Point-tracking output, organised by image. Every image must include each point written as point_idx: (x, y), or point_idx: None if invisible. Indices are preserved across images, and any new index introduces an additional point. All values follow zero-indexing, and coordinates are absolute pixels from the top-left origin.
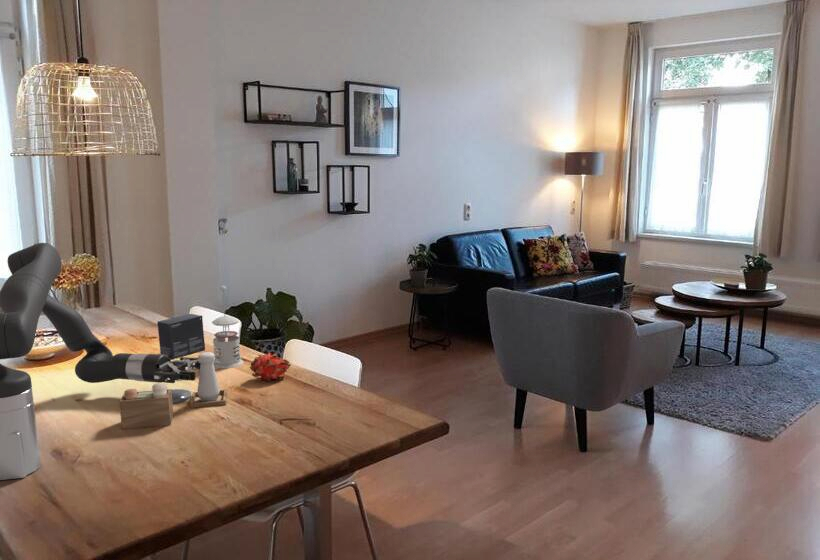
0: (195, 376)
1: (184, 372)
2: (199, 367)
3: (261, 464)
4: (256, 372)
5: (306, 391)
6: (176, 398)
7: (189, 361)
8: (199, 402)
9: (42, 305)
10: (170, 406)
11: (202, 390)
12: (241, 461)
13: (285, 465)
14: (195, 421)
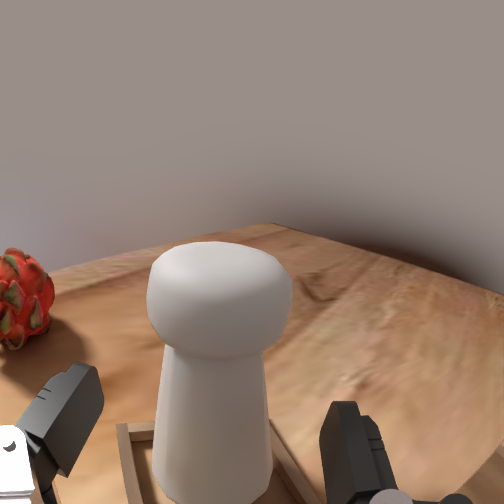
0: (326, 419)
1: (372, 460)
2: (65, 459)
3: (451, 295)
4: (35, 323)
5: (146, 284)
6: None
7: (35, 501)
8: (297, 486)
9: None
10: (492, 453)
11: (270, 459)
12: (463, 308)
13: (434, 281)
14: (419, 433)
